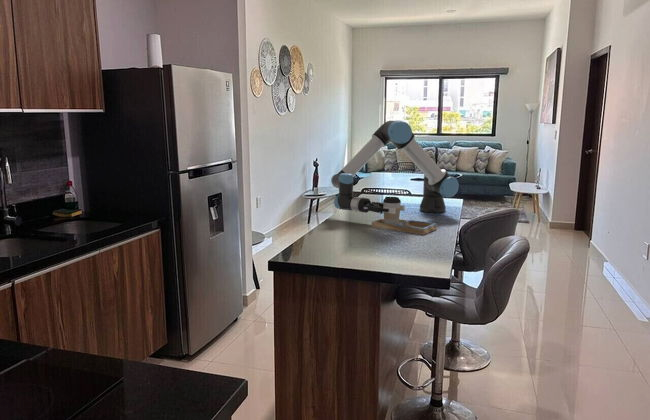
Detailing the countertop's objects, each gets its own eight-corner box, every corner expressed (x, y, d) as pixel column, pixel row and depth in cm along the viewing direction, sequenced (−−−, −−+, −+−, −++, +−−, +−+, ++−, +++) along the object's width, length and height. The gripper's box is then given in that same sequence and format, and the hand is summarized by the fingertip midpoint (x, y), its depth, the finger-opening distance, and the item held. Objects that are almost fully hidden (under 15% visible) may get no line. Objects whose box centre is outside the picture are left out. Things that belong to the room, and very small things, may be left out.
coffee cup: (401, 225, 248) (402, 196, 245) (398, 228, 239) (399, 198, 237) (384, 223, 251) (385, 195, 248) (380, 227, 242) (381, 197, 239)
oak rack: (386, 221, 255) (386, 216, 254) (436, 229, 239) (436, 223, 238) (371, 226, 243) (371, 221, 243) (423, 234, 227) (423, 228, 226)
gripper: (371, 208, 263) (409, 213, 250) (349, 215, 246) (389, 220, 233) (372, 195, 262) (409, 199, 249) (349, 200, 244) (389, 205, 231)
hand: (399, 209), depth 241 cm, fingers closed on coffee cup, 9 cm apart
